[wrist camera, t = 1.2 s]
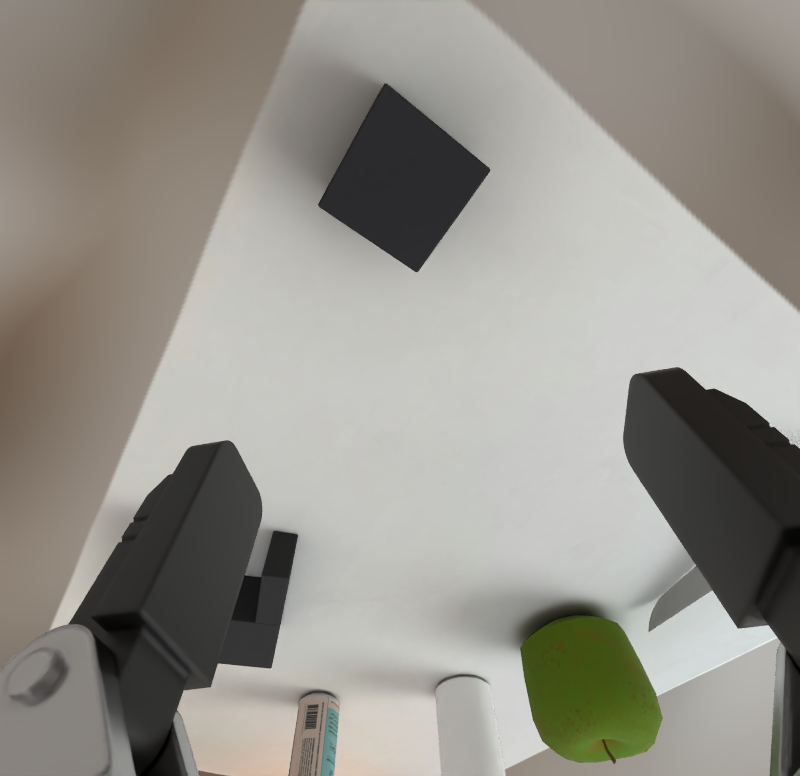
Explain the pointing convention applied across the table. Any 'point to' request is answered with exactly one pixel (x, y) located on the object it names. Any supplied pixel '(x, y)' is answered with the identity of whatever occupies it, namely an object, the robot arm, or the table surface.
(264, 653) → the black flat forked piece
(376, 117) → the black block
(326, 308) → the table surface
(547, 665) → the apple
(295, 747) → the beer can
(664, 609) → the kitchen knife
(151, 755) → the robot arm
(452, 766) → the can
